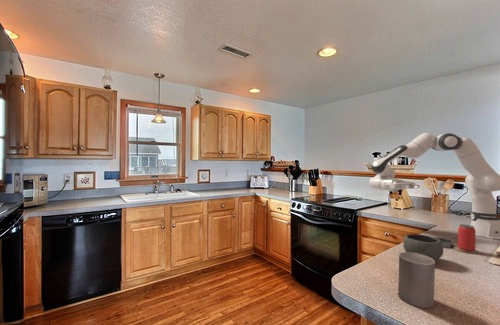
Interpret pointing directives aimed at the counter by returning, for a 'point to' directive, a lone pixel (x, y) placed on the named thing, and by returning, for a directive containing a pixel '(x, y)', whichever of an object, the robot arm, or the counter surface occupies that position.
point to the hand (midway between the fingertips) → (414, 186)
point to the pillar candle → (416, 279)
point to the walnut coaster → (464, 250)
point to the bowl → (423, 245)
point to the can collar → (446, 242)
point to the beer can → (466, 237)
